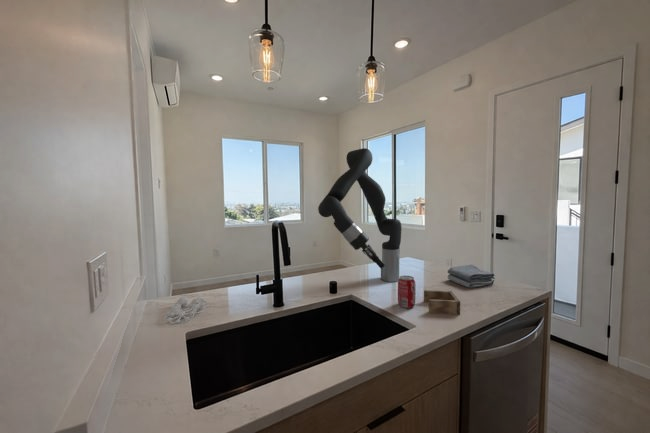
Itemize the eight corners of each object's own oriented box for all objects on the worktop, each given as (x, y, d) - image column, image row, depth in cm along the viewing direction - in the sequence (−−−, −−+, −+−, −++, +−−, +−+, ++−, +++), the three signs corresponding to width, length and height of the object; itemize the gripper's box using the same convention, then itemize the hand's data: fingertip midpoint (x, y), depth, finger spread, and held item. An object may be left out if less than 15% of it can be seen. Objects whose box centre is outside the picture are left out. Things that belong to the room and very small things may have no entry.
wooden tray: (429, 312, 108) (429, 300, 108) (423, 301, 120) (423, 290, 119) (460, 314, 106) (460, 301, 106) (451, 302, 118) (451, 291, 118)
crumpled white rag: (195, 327, 101) (195, 316, 101) (153, 326, 100) (153, 315, 99) (212, 305, 120) (212, 296, 120) (177, 303, 119) (177, 294, 118)
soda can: (413, 302, 118) (413, 275, 117) (417, 309, 111) (417, 280, 110) (396, 302, 119) (396, 274, 118) (399, 308, 112) (399, 279, 111)
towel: (446, 280, 149) (446, 266, 148) (471, 277, 155) (472, 263, 154) (469, 289, 135) (469, 273, 134) (496, 285, 141) (497, 270, 140)
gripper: (347, 239, 122) (374, 269, 122) (348, 244, 109) (378, 277, 109) (360, 228, 122) (387, 257, 122) (363, 231, 108) (392, 264, 108)
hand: (382, 266), depth 115 cm, fingers closed
